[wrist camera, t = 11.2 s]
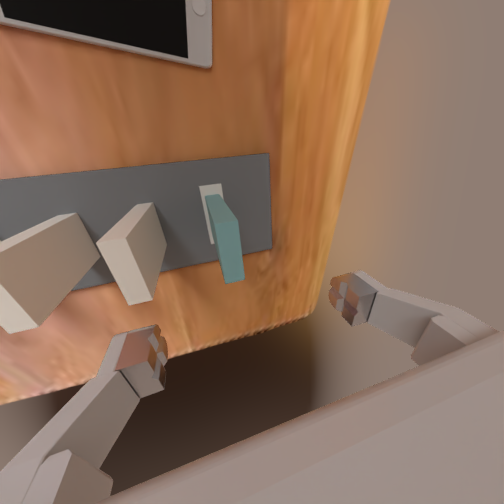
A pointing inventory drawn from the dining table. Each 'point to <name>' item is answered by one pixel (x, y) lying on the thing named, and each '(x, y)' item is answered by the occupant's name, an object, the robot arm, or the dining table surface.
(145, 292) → the domino
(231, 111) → the dining table surface
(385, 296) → the robot arm
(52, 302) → the domino
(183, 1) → the smartphone
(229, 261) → the domino
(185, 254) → the domino mat
